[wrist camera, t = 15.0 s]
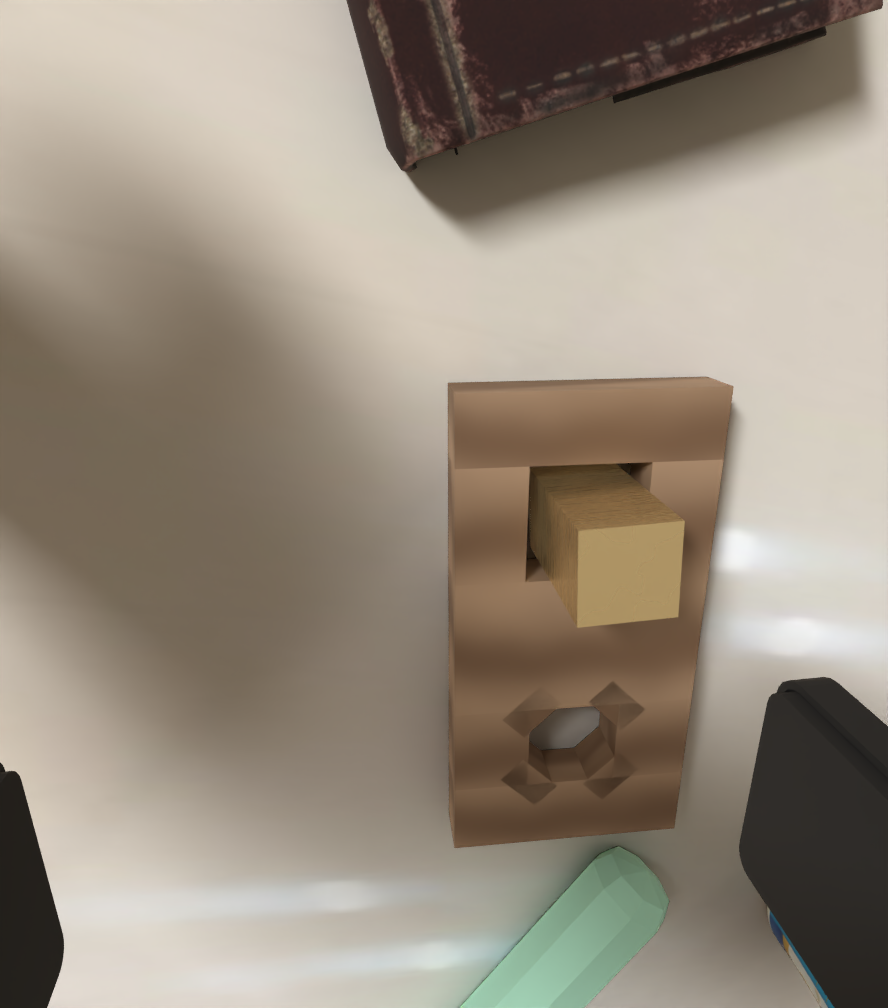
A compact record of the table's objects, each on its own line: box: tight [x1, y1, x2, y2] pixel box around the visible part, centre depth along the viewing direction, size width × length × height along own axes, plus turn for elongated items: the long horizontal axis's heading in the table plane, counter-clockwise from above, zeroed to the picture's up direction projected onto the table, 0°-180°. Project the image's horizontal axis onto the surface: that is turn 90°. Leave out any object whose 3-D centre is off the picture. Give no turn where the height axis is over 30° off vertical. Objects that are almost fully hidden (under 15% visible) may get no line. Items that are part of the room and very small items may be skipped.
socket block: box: [448, 377, 733, 848], centre depth 35 cm, size 24×12×2 cm, turn 0°
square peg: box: [529, 464, 685, 628], centre depth 30 cm, size 4×4×8 cm
